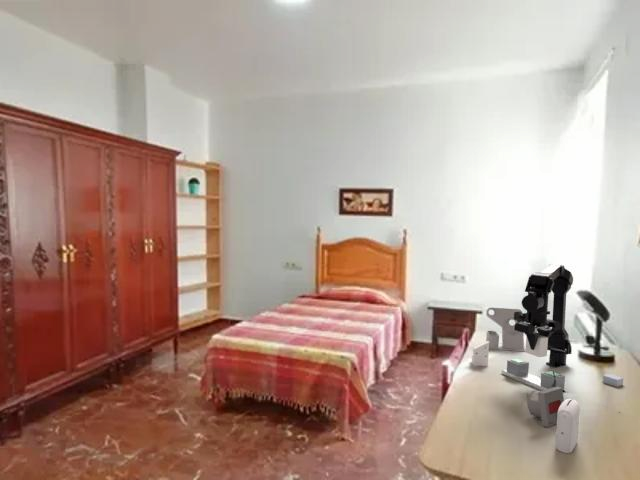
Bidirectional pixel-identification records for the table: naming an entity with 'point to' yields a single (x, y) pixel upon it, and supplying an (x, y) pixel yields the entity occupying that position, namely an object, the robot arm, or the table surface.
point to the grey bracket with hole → (505, 331)
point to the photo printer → (567, 425)
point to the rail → (520, 372)
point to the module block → (538, 347)
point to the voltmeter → (545, 404)
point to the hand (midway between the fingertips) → (536, 348)
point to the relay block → (613, 380)
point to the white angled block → (481, 354)
